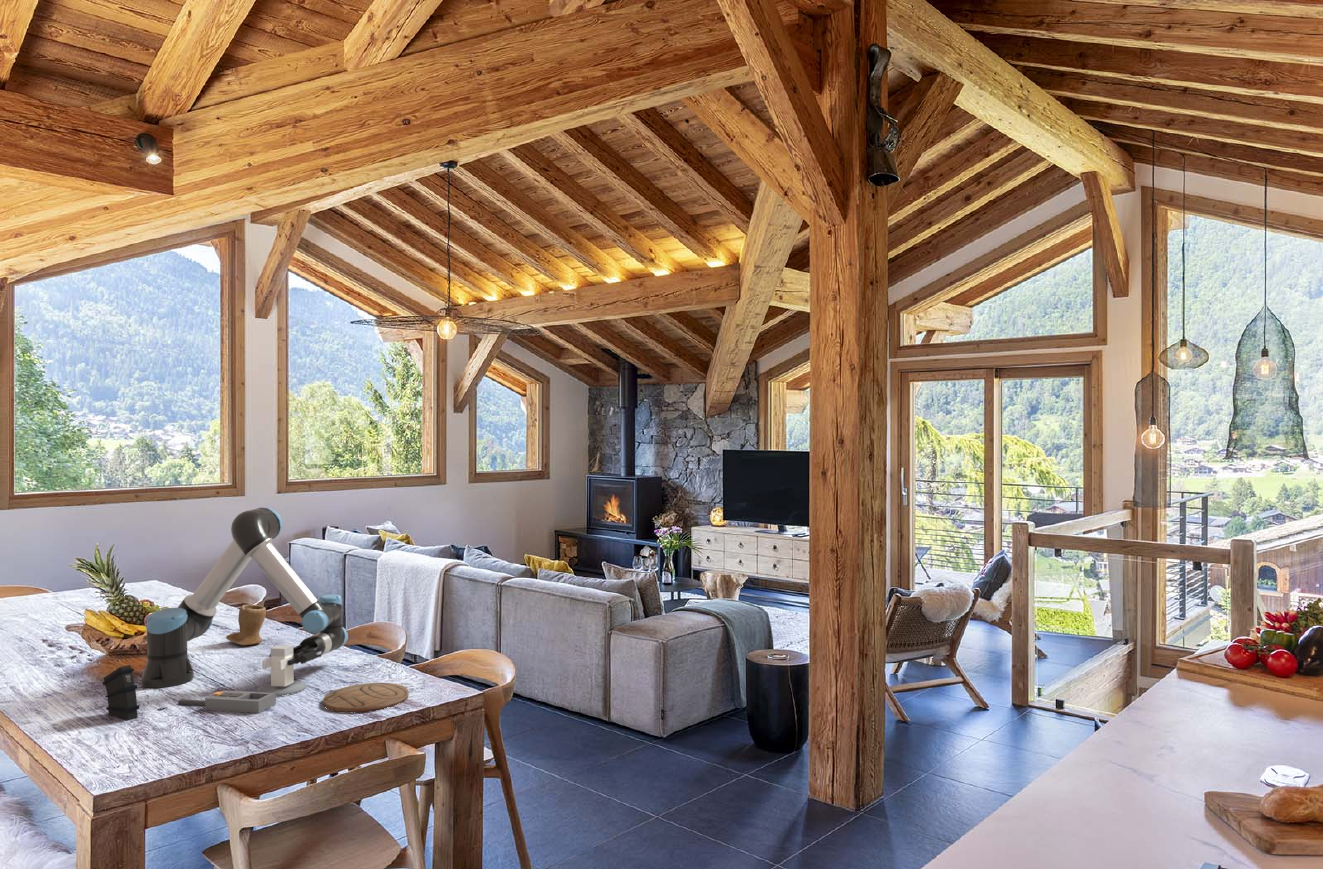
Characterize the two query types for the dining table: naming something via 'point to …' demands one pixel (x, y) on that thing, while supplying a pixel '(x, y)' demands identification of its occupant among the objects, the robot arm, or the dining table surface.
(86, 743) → the dining table surface
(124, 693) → the magazine
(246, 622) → the brown boot
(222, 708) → the power strip
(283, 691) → the mat
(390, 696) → the trivet
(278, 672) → the block
